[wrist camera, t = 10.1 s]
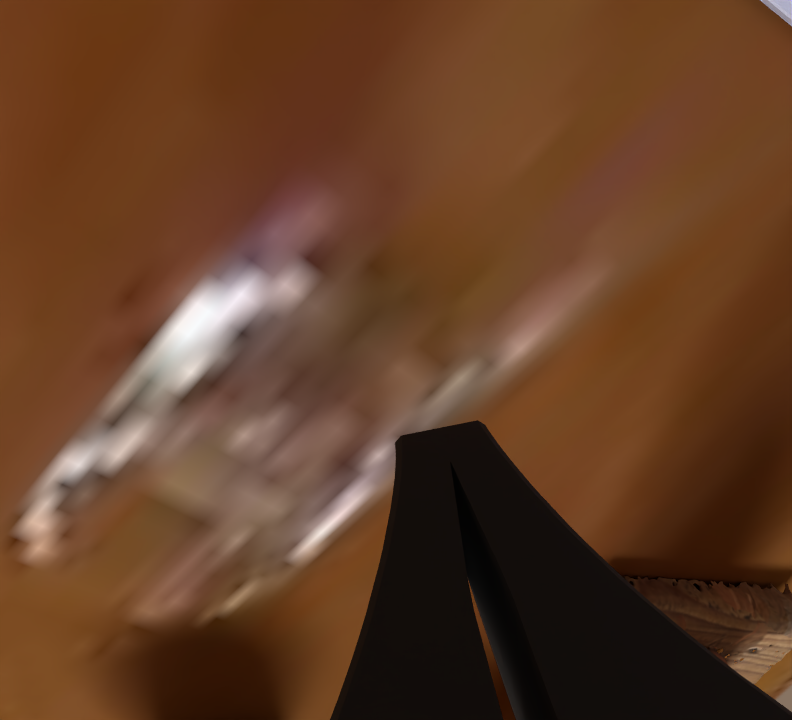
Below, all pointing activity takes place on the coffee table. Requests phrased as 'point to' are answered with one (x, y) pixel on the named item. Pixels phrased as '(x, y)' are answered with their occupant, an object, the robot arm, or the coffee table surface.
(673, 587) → the bird sculpture
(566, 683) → the robot arm
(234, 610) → the coffee table surface
